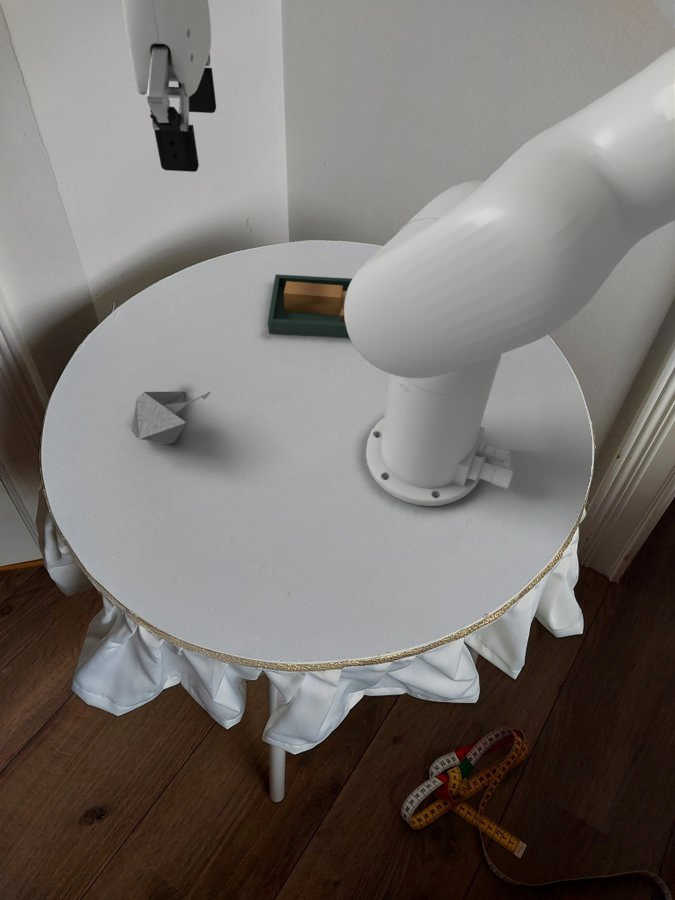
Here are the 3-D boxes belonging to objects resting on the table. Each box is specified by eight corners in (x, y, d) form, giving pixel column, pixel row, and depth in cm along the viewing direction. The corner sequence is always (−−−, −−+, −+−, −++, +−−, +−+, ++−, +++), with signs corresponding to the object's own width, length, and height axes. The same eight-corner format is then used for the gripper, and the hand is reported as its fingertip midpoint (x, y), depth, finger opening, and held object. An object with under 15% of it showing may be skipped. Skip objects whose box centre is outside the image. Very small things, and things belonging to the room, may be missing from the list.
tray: (409, 293, 93) (410, 281, 92) (409, 341, 88) (411, 329, 87) (276, 286, 94) (275, 274, 92) (268, 333, 88) (267, 321, 87)
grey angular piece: (119, 390, 81) (193, 352, 81) (149, 437, 84) (220, 401, 84) (112, 424, 70) (197, 381, 70) (146, 477, 73) (228, 435, 73)
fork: (283, 317, 90) (282, 299, 87) (288, 293, 92) (287, 275, 90) (392, 326, 89) (394, 308, 87) (394, 302, 92) (396, 283, 89)
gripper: (132, -125, 58) (168, 89, 71) (73, -39, 47) (128, 192, 61) (226, -121, 58) (244, 93, 71) (187, -34, 47) (216, 197, 61)
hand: (190, 138), depth 66 cm, fingers open, 9 cm apart
